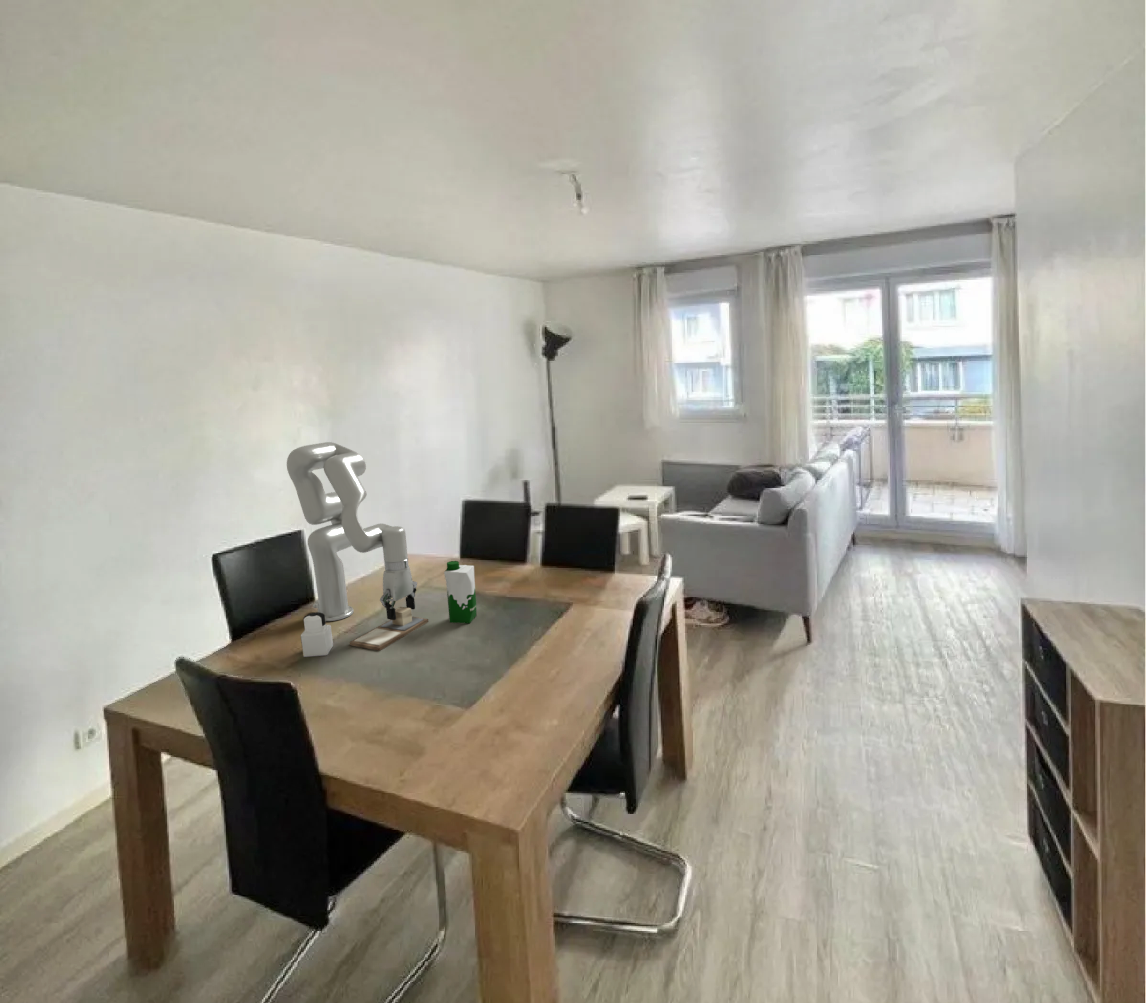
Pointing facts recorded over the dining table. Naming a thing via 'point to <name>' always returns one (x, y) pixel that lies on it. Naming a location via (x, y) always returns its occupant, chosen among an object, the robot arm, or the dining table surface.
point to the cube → (402, 616)
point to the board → (387, 634)
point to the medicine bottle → (316, 635)
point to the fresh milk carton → (460, 592)
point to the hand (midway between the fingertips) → (401, 614)
